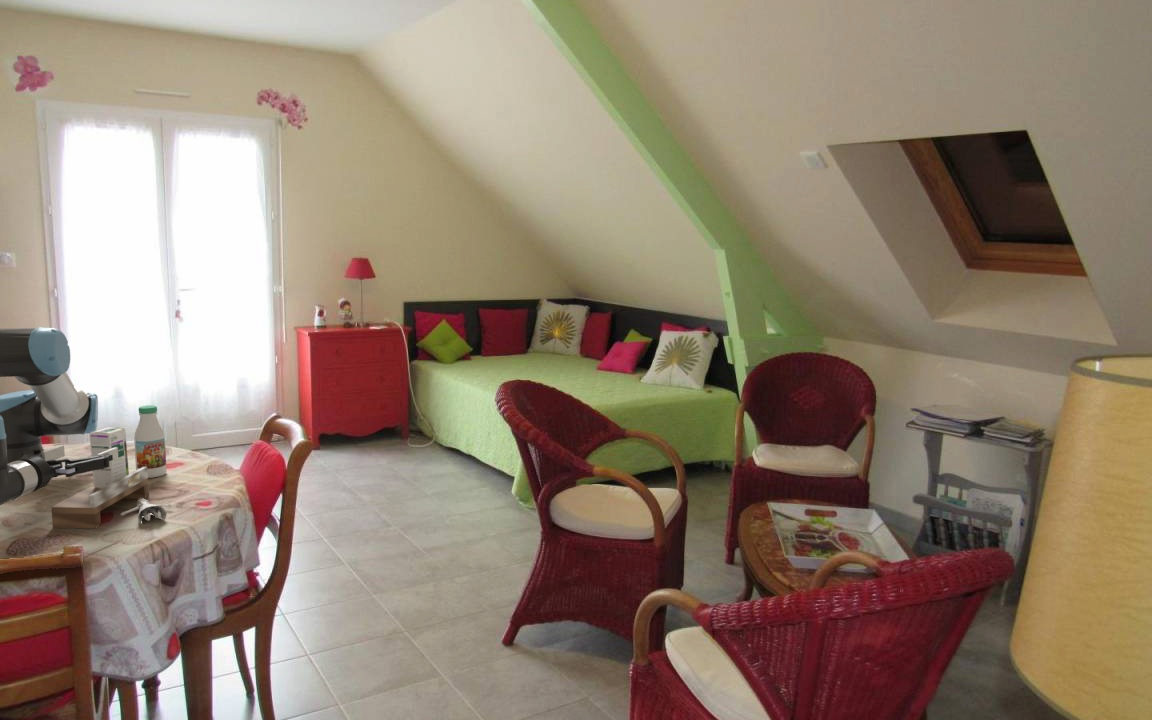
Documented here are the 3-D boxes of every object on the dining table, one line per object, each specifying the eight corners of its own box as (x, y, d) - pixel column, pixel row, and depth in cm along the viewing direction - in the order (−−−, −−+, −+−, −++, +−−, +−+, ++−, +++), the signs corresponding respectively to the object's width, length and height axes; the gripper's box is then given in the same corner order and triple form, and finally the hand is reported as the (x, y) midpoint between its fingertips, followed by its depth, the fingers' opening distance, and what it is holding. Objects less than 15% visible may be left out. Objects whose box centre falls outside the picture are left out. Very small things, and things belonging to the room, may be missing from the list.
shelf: (110, 495, 211) (108, 466, 210) (150, 496, 211) (148, 466, 210) (52, 527, 187) (50, 494, 186) (97, 528, 187) (95, 495, 186)
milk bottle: (130, 476, 228) (125, 407, 225) (153, 469, 235) (149, 402, 232) (149, 480, 225) (145, 410, 222) (172, 473, 232) (169, 405, 229)
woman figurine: (125, 513, 186) (114, 497, 200) (127, 531, 186) (115, 514, 201) (180, 503, 193) (165, 489, 207) (181, 522, 193) (167, 506, 208)
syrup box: (113, 489, 200) (110, 433, 198) (92, 488, 201) (88, 431, 199) (129, 483, 206) (126, 427, 203) (109, 481, 206) (105, 426, 204)
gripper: (-30, 491, 175) (41, 464, 196) (79, 496, 173) (139, 468, 194) (-33, 457, 173) (39, 434, 194) (77, 462, 172) (138, 438, 193)
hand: (89, 451), depth 194 cm, fingers open, 13 cm apart
